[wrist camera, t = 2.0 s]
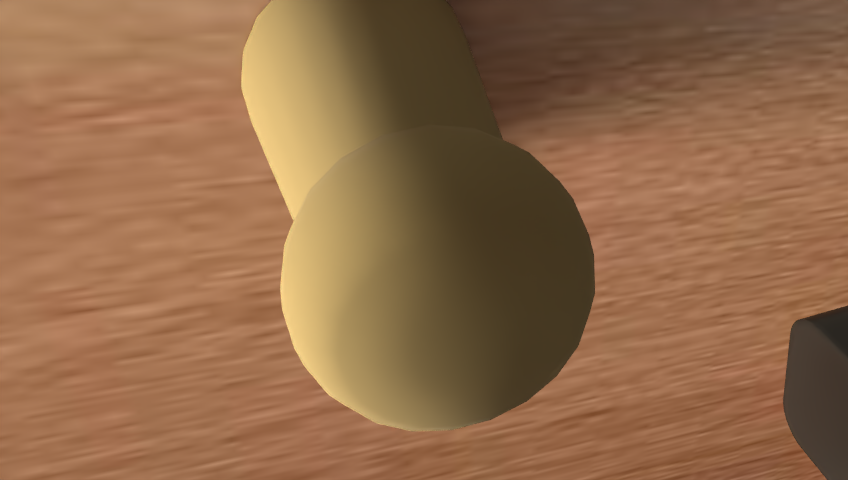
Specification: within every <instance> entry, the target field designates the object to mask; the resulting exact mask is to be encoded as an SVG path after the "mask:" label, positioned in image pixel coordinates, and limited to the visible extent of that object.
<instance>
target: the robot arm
mask: <svg viewBox="0 0 848 480" xmlns="http://www.w3.org/2000/svg"><path fill="white" fill-rule="evenodd" d="M783 405H784V412H785V416H786V420H787V422H788V425H789V427H790V430H791V432H792V434H793V436H794V438H795V439H796V441H797V442H798V444H799V445H800V447H801V448H802V449H803V450H804V452H805V453H806V454H807V455H808V457H809V458H810V459H811V460H812V461H813V463H814V464H815V465H816V466H817V468H818V469H819V470H820V471H821V473H822V474H823V475H824V476H825V477H826V479H827V480H848V306H845V307H841V308H838V309H834V310H831V311H827V312H824V313H821V314H817V315H814V316H810V317H807V318H803V319H800V320H797V321H796V322H795V323H794V324H793V326H792V328H791V333H790V342H789V351H788V361H787V370H786V379H785V388H784V397H783Z"/></svg>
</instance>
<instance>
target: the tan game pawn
mask: <svg viewBox="0 0 848 480" xmlns="http://www.w3.org/2000/svg"><path fill="white" fill-rule="evenodd" d="M241 88H242V92H243V95H244V98H245V102H246V105H247V109H248V112H249V116H250V119H251V122H252V124H253V127H254V129H255V131H256V134H257V136H258V138H259V141H260V143H261V145H262V148H263V150H264V152H265V155H266V157H267V160H268V162H269V164H270V167H271V169H272V171H273V174H274V176H275V178H276V181H277V183H278V185H279V188H280V190H281V192H282V195H283V197H284V200H285V202H286V204H287V207H288V209H289V211H290V214H291V216H292V218H293V221H294V222H293V224H292V226H291V229H290V231H289V234H288V237H287V240H286V243H285V245H284V254H283V265H282V275H281V285H280V289H281V302H282V310H283V313H284V317H285V320H286V323H287V326H288V330H289V333H290V336H291V339H292V343H293V346H294V348H295V350H296V352H297V354H298V355H299V357H300V359H301V361H302V363H303V365H304V366H305V367H306V369H307V370H308V371H309V372H310V373H311V375H312V376H313V377H314V378H315V379H316V381H317V382H318V383H319V384H320V385H321V387H322V388H323V389H324V390H325V391H326V393H327V394H328V395H329V396H331V397H333V398H334V399H336V400H337V401H339V402H340V403H342V404H344V405H345V406H347V407H349V408H350V409H352V410H354V411H356V412H357V413H359V414H361V415H363V416H364V417H366V418H368V419H370V420H371V421H373V422H375V423H377V424H382V425H386V426H391V427H395V428H400V429H404V430H409V431H439V430H454V429H458V428H461V427H465V426H469V425H473V424H477V423H480V422H484V421H488V420H491V419H493V418H495V417H497V416H499V415H501V414H503V413H505V412H507V411H509V410H511V409H513V408H515V407H517V406H519V405H520V404H522V403H524V402H526V401H528V400H529V399H530V398H531V397H532V396H533V395H535V394H536V393H537V392H538V391H539V390H541V389H542V388H543V387H544V386H545V385H547V384H548V383H549V382H550V381H551V380H553V379H554V378H555V377H556V376H557V375H558V373H559V372H560V371H561V369H562V368H563V366H564V365H565V364H566V362H567V361H568V359H569V358H570V357H571V355H572V354H573V353H574V351H575V350H576V348H577V347H578V345H579V342H580V339H581V337H582V334H583V331H584V328H585V325H586V322H587V319H588V316H589V313H590V309H591V306H592V302H593V298H594V294H595V278H594V253H593V249H592V245H591V241H590V237H589V234H588V232H587V229H586V227H585V225H584V223H583V220H582V218H581V216H580V214H579V211H578V209H577V207H576V205H575V202H574V200H573V198H572V197H571V195H570V194H569V193H568V192H567V190H566V189H565V188H564V186H563V185H562V184H561V183H560V181H559V180H558V179H556V178H555V177H554V176H553V175H552V174H551V173H550V172H549V171H548V170H547V169H546V168H545V167H544V166H543V165H542V164H541V163H540V162H539V161H537V160H536V159H535V158H534V157H533V156H532V155H531V154H530V153H529V152H527V151H525V150H523V149H521V148H519V147H517V146H515V145H513V144H511V143H509V142H507V141H504V140H503V139H502V136H501V133H500V130H499V128H498V125H497V122H496V119H495V116H494V114H493V111H492V108H491V105H490V103H489V100H488V97H487V94H486V91H485V89H484V86H483V83H482V80H481V78H480V75H479V72H478V69H477V66H476V64H475V61H474V58H473V55H472V52H471V50H470V47H469V44H468V41H467V39H466V36H465V34H464V32H463V30H462V28H461V26H460V24H459V22H458V19H457V17H456V15H455V13H454V11H453V9H452V7H451V6H450V5H449V4H448V3H447V2H446V1H445V0H271V2H270V3H269V4H268V5H267V6H266V7H265V8H264V10H263V11H262V12H261V13H260V14H259V15H258V16H257V19H256V21H255V23H254V26H253V28H252V31H251V33H250V35H249V38H248V40H247V43H246V45H245V48H244V50H243V62H242V79H241Z"/></svg>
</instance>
